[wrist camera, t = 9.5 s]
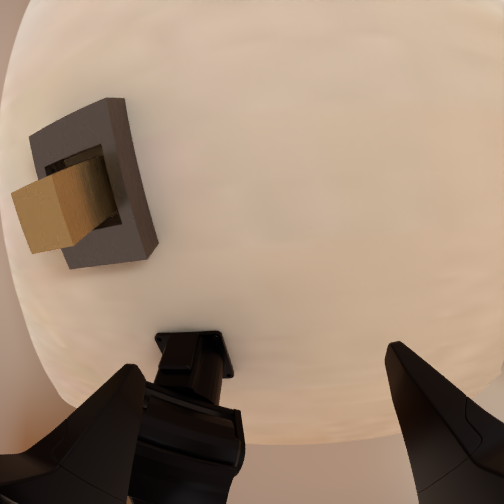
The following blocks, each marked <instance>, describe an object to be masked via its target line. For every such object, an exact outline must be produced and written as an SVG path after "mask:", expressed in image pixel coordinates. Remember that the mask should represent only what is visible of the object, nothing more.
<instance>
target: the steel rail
mask: <svg viewBox="0 0 504 504" xmlns="http://www.w3.org/2000/svg"><path fill="white" fill-rule="evenodd" d="M29 140H30V145H31V150H32V155H33V160H34V164H35V168H36V172H37V176H38V180H40V179H42V178H44V177H47V176H49V175H51V174H54V173H56V172H58V171H61V170H63V169H66V167H65V163H64V159H67V158H69V157H72V156H74V155H77V154H79V153H82V152H84V151H87V150H89V149H92V148H95V147H97V146H100V145H101V146H102V150H103V155H104V159H105V163H106V167H107V171H108V175H109V179H110V183H111V187H112V190H113V194H114V198H115V201H116V205H117V208H118V211H119V215H117V216H113V217H108V218H107V219H105V220H104V221H103V222H102V223H100V224H99V225H98V226H97V227H96V228H94V229H93V230H92V231H91V232H90V233H88V234H87V235H86V236H85V237H84V238H82V239H81V240H80V241H79V242H78V243H77V244H75V245H74V246H71V247H65V248H61V250H62V252H63V254H64V257H65V259H66V262H67V264H68V266H69V269H76V268H84V267H92V266H100V265H108V264H115V263H123V262H131V261H139V260H147V259H148V258H149V256H150V255H151V254H152V252H153V251H154V249H155V248H156V247H157V245H158V244H159V242H158V239H157V236H156V232H155V229H154V225H153V222H152V218H151V215H150V211H149V208H148V204H147V200H146V196H145V192H144V189H143V185H142V181H141V177H140V172H139V168H138V164H137V160H136V155H135V151H134V146H133V141H132V136H131V132H130V126H129V121H128V116H127V110H126V105H125V99H124V98H104V99H102V100H99V101H97V102H95V103H93V104H90V105H88V106H86V107H84V108H81V109H79V110H77V111H75V112H73V113H71V114H69V115H67V116H65V117H63V118H61V119H59V120H57V121H55V122H54V123H52V124H50V125H48V126H46V127H45V128H43V129H41V130H39V131H38V132H36V133H34V134H33V135H31V136H29Z"/></svg>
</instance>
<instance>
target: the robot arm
mask: <svg viewBox="0 0 504 504" xmlns="http://www.w3.org/2000/svg"><path fill="white" fill-rule="evenodd" d="M216 336H218V337H216ZM160 338H161V339H160ZM155 341H156V343H157V345H158V347H159V349H160V351H161V353H162V357H161V360H160V363H159V365H158V371H157V374H156V377H155V380H154V383H151V382H148V381H146V379H145V377H144V375H143V374H142V372H141V371H140V369H139V368H138V366H137V365H136V364H125V365H124V366H123V367H122V368H121V369H120V370H119V371H117V372H116V373H115V374H114V375H113V376H112V377H111V378H110V379H109V380H108V381H107V382H105V383H104V384H103V385H102V386H101V387H100V388H99V389H98V390H97V391H96V392H95V393H94V394H92V395H91V396H90V397H89V398H88V399H87V400H86V401H85V402H84V403H83V404H82V405H81V406H79V407H78V408H77V409H76V410H75V411H74V412H73V413H72V414H71V415H70V416H69V417H68V418H67V419H65V420H64V421H63V422H62V423H61V424H60V425H59V426H58V427H56V428H55V429H54V430H53V431H52V432H51V433H49V434H48V435H47V436H45V437H44V438H43V439H41V440H40V441H39V442H37V443H36V444H35V445H33V446H32V447H31V448H29V449H28V450H26V451H25V452H22V453H19V454H5V455H0V504H126V501H127V496H129V498H130V500H131V502H132V504H226V502H227V497H228V493H229V489H230V486H231V483H232V480H233V478H234V477H235V476H236V475H237V474H238V473H239V471H240V469H241V467H242V465H243V461H244V457H245V439H244V432H243V425H242V418H241V411H240V410H237V409H229V408H225V407H222V406H219V400H220V393H221V385H222V379H223V378H233V377H234V371H233V367H232V364H231V361H230V358H229V355H228V352H227V349H226V345H225V342H224V339H223V336H222V333H221V332H219V331H202V332H177V333H157V334H156V336H155ZM385 367H386V371H387V376H388V381H389V386H390V391H391V396H392V401H393V404H394V407H395V411H396V414H397V417H398V420H399V424H400V427H401V431H402V434H403V438H404V441H405V445H406V448H407V452H408V456H409V460H410V464H411V468H412V472H413V476H414V481H415V485H416V490H417V493H418V494H417V495H418V500H419V504H504V423H503V422H501V421H500V420H498V419H497V418H495V417H494V416H492V415H491V414H489V413H488V412H486V411H485V410H484V409H482V408H481V407H480V406H479V405H477V404H476V403H475V402H474V401H473V400H471V399H470V398H469V397H466V395H465V394H464V393H463V392H462V391H461V390H459V389H458V388H457V387H456V386H455V385H453V384H452V383H451V382H450V381H449V380H447V379H446V378H445V377H444V376H443V375H441V374H440V373H439V372H438V371H437V370H435V369H434V368H433V367H432V366H431V365H429V364H428V363H427V362H426V361H424V360H423V359H422V358H421V357H420V356H418V355H417V354H416V353H415V352H413V351H412V350H411V349H410V348H408V347H407V346H406V345H405V344H403V343H402V342H401V341H396V342H391V343H389V345H388V348H387V352H386V356H385Z"/></svg>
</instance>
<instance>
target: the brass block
mask: <svg viewBox="0 0 504 504" xmlns="http://www.w3.org/2000/svg"><path fill="white" fill-rule="evenodd" d="M11 195H12V198H13V202H14V205H15V208H16V212H17V215H18V218H19V221H20V224H21V227H22V229H23V232H24V235H25V238H26V240H27V243H28V245H29V248H30V250H31V253H32V254H35V253H40V252H45V251H50V250H55V249H60V248H65V247H71V246H74V245H75V244H77V243H78V242H79V241H80V240H81V239H82V238H84V237H85V236H86V235H87V234H88V233H90V232H91V231H92V230H93V229H94V228H96V227H97V226H98V225H99V224H100V223H102V222H103V221H104V220H105V219H107V218H108V217H109V216H111V215H112V214H113V213H114V212H116V211H117V210H118V208H117V205H116V201H115V198H114V194H113V190H112V187H111V183H110V179H109V175H108V171H107V167H106V163H105V159H104V155H101V156H98V157H95V158H92V159H90V160H87V161H84V162H81V163H79V164H76V165H73V166H71V167H68V168H66V169H63V170H61V171H58V172H56V173H54V174H51V175H49V176H47V177H44V178H42V179H40V180H38V181H35V182H33V183H31V184H29V185H27V186H25V187H23V188H21V189H19V190H17V191H15V192H13V193H11Z"/></svg>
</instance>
